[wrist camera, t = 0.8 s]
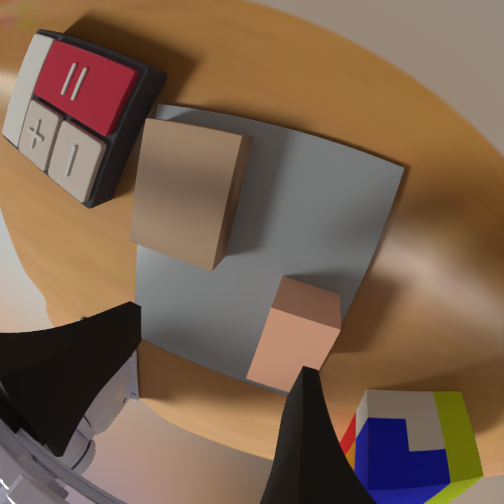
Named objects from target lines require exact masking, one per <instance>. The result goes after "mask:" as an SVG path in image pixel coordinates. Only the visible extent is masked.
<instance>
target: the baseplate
mask: <svg viewBox="0 0 504 504" xmlns="http://www.w3.org/2000/svg"><path fill="white" fill-rule="evenodd" d="M155 119H164V120H172V121H178V122H184V123H190V124H196V125H201V126H206V127H211V128H216V129H221V130H226V131H230V132H235V133H239V134H244V135H248V136H252V137H254V138H253V142H252V146H251V150H250V154H249V158H248V162H247V166H246V171H245V175H244V179H243V183H242V187H241V191H240V195H239V200H238V204H237V208H236V212H235V217H234V221H233V225H232V230H231V234H230V239H229V243H228V247H227V252H226V256H225V258H224V259H223V260H222V261H221V262H220V263H219V264H218V265H217V267H216V268H215V269H214V270H213V271H212V272H211V271H208V270H205V269H203V268H200V267H197V266H194V265H192V264H189V263H186V262H183V261H181V260H178V259H175V258H173V257H170V256H167V255H164V254H162V253H159V252H156V251H154V250H151V249H149V248H146V247H143V246H141V245H138V246H137V261H136V283H135V304H137V305H140V306H141V338H142V340H145V341H147V342H149V343H151V344H153V345H155V346H157V347H159V348H161V349H164V350H166V351H168V352H170V353H172V354H175V355H177V356H179V357H182V358H184V359H186V360H189V361H191V362H193V363H196V364H198V365H201V366H203V367H206V368H208V369H211V370H213V371H216V372H218V373H221V374H224V375H226V376H229V377H232V378H234V379H237V380H240V381H243V382H246V383H248V384H251V385H254V386H257V387H260V388H263V389H266V390H269V391H273V392H276V393H279V394H282V395H286V396H288V394H289V392H286V391H283V390H280V389H276V388H273V387H270V386H267V385H264V384H261V383H258V382H255V381H252V380H249V379H246V377H247V374H248V372H249V369H250V366H251V363H252V361H253V358H254V355H255V352H256V349H257V347H258V344H259V341H260V338H261V335H262V332H263V330H264V327H265V324H266V321H267V318H268V315H269V312H270V309H271V306H272V304H273V301H274V298H275V296H276V293H277V290H278V287H279V285H280V282H281V279H282V276H285V277H288V278H291V279H294V280H297V281H300V282H303V283H306V284H309V285H312V286H315V287H318V288H321V289H324V290H327V291H331V292H334V293H337V294H340V314H341V324H342V322H343V320H344V318H345V316H346V314H347V312H348V310H349V308H350V305H351V303H352V301H353V299H354V297H355V295H356V293H357V290H358V288H359V286H360V284H361V282H362V279H363V277H364V275H365V273H366V270H367V268H368V266H369V263H370V261H371V259H372V256H373V254H374V251H375V249H376V246H377V244H378V241H379V239H380V236H381V234H382V231H383V229H384V226H385V223H386V221H387V218H388V215H389V213H390V210H391V207H392V204H393V201H394V199H395V196H396V193H397V190H398V187H399V184H400V181H401V178H402V174H403V171H404V168H403V167H401V166H398V165H396V164H393V163H391V162H388V161H386V160H383V159H381V158H378V157H375V156H373V155H370V154H367V153H365V152H362V151H359V150H356V149H353V148H350V147H347V146H344V145H341V144H338V143H335V142H332V141H329V140H326V139H323V138H319V137H316V136H313V135H309V134H306V133H302V132H299V131H295V130H292V129H288V128H284V127H280V126H276V125H272V124H268V123H264V122H260V121H255V120H251V119H246V118H242V117H237V116H232V115H227V114H222V113H216V112H211V111H205V110H199V109H193V108H186V107H179V106H171V105H163V104H158V106H157V111H156V115H155Z"/></svg>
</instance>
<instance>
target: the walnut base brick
mask: <svg viewBox="0 0 504 504" xmlns="http://www.w3.org/2000/svg"><path fill="white" fill-rule="evenodd" d="M253 138H254V137H252V136H248V135H244V134H239V133H235V132H230V131H226V130H221V129H216V128H211V127H206V126H201V125H196V124H190V123H184V122H178V121H172V120H164V119H150V118H146V121H145V126H144V131H143V137H142V143H141V149H140V155H139V162H138V169H137V176H136V184H135V192H134V201H133V211H132V222H131V235H130V242H133V243H135V244H138V245H141V246H143V247H146V248H149V249H151V250H154V251H156V252H159V253H162V254H164V255H167V256H170V257H173V258H175V259H178V260H181V261H183V262H186V263H189V264H192V265H194V266H197V267H200V268H203V269H205V270H208V271H211V272H212V271H213V270H214V269H215V268H216V267H217V265H218V264H219V263H220V262H221V261H222V260H223V259H224V258H225V256H226V252H227V247H228V243H229V239H230V234H231V230H232V225H233V221H234V217H235V212H236V208H237V204H238V200H239V195H240V191H241V187H242V183H243V179H244V175H245V171H246V166H247V162H248V158H249V154H250V150H251V146H252V142H253Z"/></svg>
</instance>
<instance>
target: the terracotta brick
mask: <svg viewBox="0 0 504 504" xmlns="http://www.w3.org/2000/svg"><path fill="white" fill-rule="evenodd" d="M340 330H341V314H340V294H337V293H334V292H331V291H327V290H324V289H321V288H318V287H315V286H312V285H309V284H306V283H303V282H300V281H297V280H294V279H291V278H288V277H285V276H282V279H281V282H280V285H279V287H278V290H277V293H276V296H275V298H274V301H273V304H272V306H271V309H270V312H269V315H268V318H267V321H266V324H265V327H264V330H263V332H262V335H261V338H260V341H259V344H258V347H257V349H256V352H255V355H254V358H253V361H252V363H251V366H250V369H249V372H248V374H247V377H246V379H249V380H252V381H255V382H258V383H261V384H264V385H267V386H270V387H273V388H276V389H280V390H283V391H286V392H290V390H291V388H292V387H293V385H294V383H295V381H296V379H297V377H298V375H299V373H300V371H301V369H302V367H303V366H306V367H310V368H314V369H317V370H318V371H319V369H320V367H321V366H322V364H323V362H324V360H325V359H326V357H327V355H328V353H329V351H330V349H331V348H332V346H333V344H334V342H335V340H336V338H337V336H338V334H339V332H340Z"/></svg>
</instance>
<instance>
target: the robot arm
mask: <svg viewBox="0 0 504 504" xmlns="http://www.w3.org/2000/svg"><path fill="white" fill-rule="evenodd" d="M141 340H142V338H141V306H140V305H137V304H135V303H133V302H131V301H130V302H127V303H124V304H122V305H119V306H117V307H114V308H112V309H109V310H107V311H104V312H102V313H99V314H96V315H94V316H91V317H88V318H86V319H82V318H79V319H78V320H77V322H74V323H71V324H67V325H63V326H60V327H55V328H51V329H46V330H39V331H32V332H21V333H0V504H69V503H68V502H67V501H65V498H66V497H67V496H68V492H67V491H66V490H65V489H64V487H65V486H66V485H69V486H70V487H72V488H73V489H74V490H76V491H77V492H79V493H80V494H82V495H83V496H85V497H86V498H88V499H89V500H91V501H92V502H94V503H96V504H127V503H125V502H123V501H121V500H119V499H118V498H116V497H114V496H112V495H110V494H109V493H107V492H105V491H104V490H102V489H100V488H99V487H97V486H96V485H94V484H92V483H91V482H89V481H88V480H86V479H85V478H83V477H82V476H80V475H81V474H83V473H84V472H85V470H86V469H87V468H88V467H89V465H90V464H91V462H92V460H93V458H94V456H95V451H96V450H95V442H94V440H92V438H93V437H94V435H97V434H100V433H102V432H104V431H105V430H106V429H107V428H108V427H109V426H110V425H111V423H112V422H113V421H114V419H115V418H116V417H117V415H118V414H119V413H120V411H121V410H122V409H123V407H124V406H125V405H126V403H127V402H128V401H129V399H130V398H131V399H133V400H135V401H138V400H139V390H138V373H137V351H136V348H137V346H138V345H139V343H140V342H141ZM260 504H377V503H376V501H375V500H374V499H373V498H372V497H371V496H370V494H369V493H368V492H367V490H366V489H365V488H364V486H363V485H362V483H361V482H360V480H359V479H358V477H357V475H356V474H355V472H354V471H353V469H352V467H351V466H350V464H349V462H348V460H347V458H346V456H345V454H344V452H343V450H342V448H341V446H340V443H339V441H338V439H337V436H336V434H335V431H334V428H333V425H332V423H331V420H330V417H329V413H328V410H327V406H326V403H325V399H324V395H323V391H322V386H321V382H320V376H319V372H318V370H317V369H314V368H310V367H306V366H303V367H302V369H301V371H300V373H299V375H298V377H297V379H296V381H295V383H294V385H293V387H292V388H291V390H290V392H289V394H288V396H287V400H286V403H285V407H284V410H283V414H282V418H281V424H280V429H279V435H278V441H277V446H276V452H275V457H274V462H273V466H272V470H271V473H270V476H269V479H268V482H267V485H266V488H265V491H264V494H263V496H262V499H261V502H260Z"/></svg>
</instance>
